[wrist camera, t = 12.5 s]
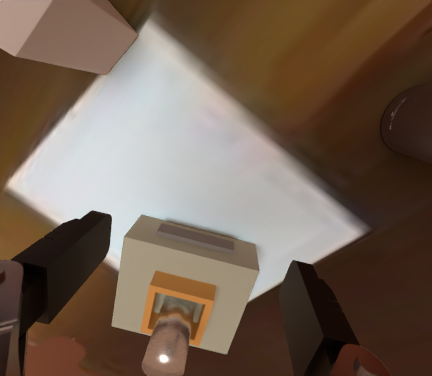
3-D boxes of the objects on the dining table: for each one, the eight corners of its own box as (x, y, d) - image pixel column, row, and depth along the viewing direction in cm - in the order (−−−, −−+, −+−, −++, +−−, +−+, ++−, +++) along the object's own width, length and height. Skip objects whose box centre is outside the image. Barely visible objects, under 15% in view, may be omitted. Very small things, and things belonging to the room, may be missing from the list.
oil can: (167, 284, 36) (145, 349, 27) (199, 292, 36) (188, 359, 27) (159, 318, 39) (136, 387, 30) (189, 325, 39) (175, 397, 30)
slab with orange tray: (256, 240, 41) (263, 281, 31) (227, 319, 47) (226, 373, 38) (142, 210, 40) (114, 243, 31) (128, 294, 47) (102, 343, 37)
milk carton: (139, 35, 32) (17, -51, 14) (106, 75, 33) (-38, 46, 16) (97, -13, 30) (-101, -180, 12) (65, 32, 32) (-146, -54, 14)
